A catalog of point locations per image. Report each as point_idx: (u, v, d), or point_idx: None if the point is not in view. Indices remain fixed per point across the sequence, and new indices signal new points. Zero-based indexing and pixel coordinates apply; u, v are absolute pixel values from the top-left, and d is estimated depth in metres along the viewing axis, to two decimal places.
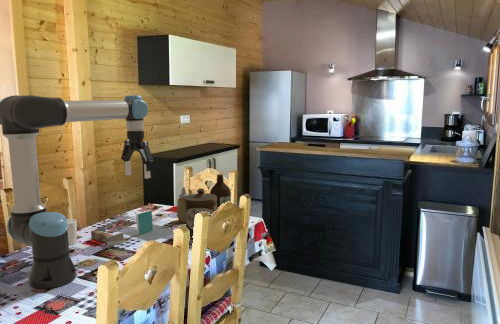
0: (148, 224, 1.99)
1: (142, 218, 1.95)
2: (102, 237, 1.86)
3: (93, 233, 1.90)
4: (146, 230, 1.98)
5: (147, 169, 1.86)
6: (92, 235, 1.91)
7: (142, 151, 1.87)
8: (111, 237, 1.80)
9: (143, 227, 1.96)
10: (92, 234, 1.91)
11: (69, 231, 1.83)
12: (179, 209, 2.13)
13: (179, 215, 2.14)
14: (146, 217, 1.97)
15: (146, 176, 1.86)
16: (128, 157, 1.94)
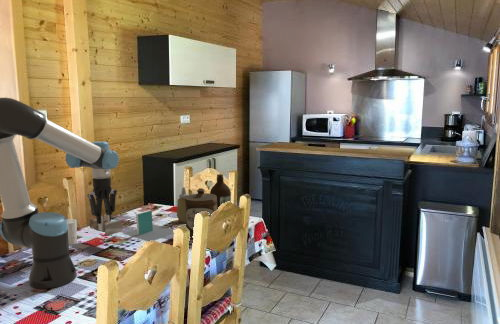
0: (148, 224, 1.99)
1: (142, 218, 1.95)
2: None
3: (91, 221, 1.89)
4: (146, 230, 1.98)
5: None
6: (90, 223, 1.89)
7: (97, 202, 1.82)
8: (109, 224, 1.79)
9: (143, 227, 1.96)
10: (90, 222, 1.89)
11: (69, 231, 1.83)
12: (179, 209, 2.13)
13: (179, 215, 2.14)
14: (146, 217, 1.97)
15: (99, 228, 1.84)
16: (106, 208, 1.86)
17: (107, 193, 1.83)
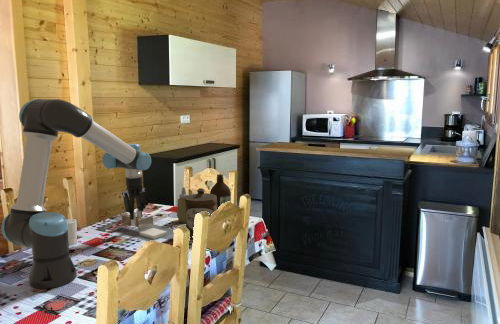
0: None
1: None
2: None
3: (124, 216, 2.04)
4: None
5: None
6: (123, 219, 2.05)
7: (130, 199, 1.98)
8: (142, 220, 1.95)
9: None
10: (123, 218, 2.05)
11: (69, 231, 1.83)
12: (179, 209, 2.13)
13: (179, 215, 2.14)
14: None
15: (132, 223, 2.00)
16: (138, 205, 2.01)
17: (139, 191, 1.99)
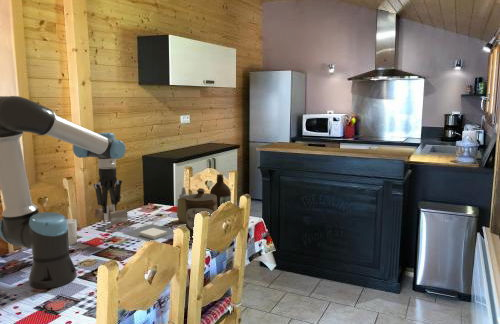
0: None
1: None
2: None
3: (97, 210, 1.92)
4: None
5: None
6: (96, 213, 1.93)
7: (103, 191, 1.86)
8: (115, 213, 1.83)
9: None
10: (96, 212, 1.93)
11: (69, 231, 1.83)
12: (179, 209, 2.13)
13: (179, 215, 2.14)
14: None
15: (104, 217, 1.88)
16: (111, 198, 1.89)
17: (113, 183, 1.87)
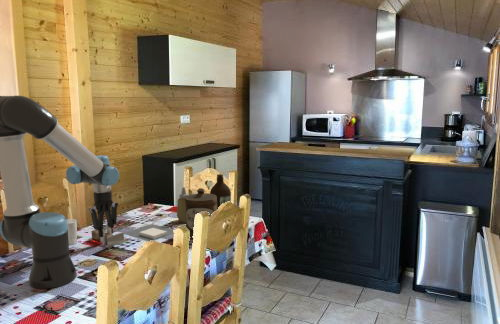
0: None
1: None
2: None
3: (93, 233, 1.90)
4: None
5: None
6: (92, 235, 1.91)
7: (99, 215, 1.83)
8: (111, 237, 1.80)
9: None
10: (92, 234, 1.91)
11: (69, 231, 1.83)
12: (179, 209, 2.13)
13: (179, 215, 2.14)
14: None
15: (101, 241, 1.86)
16: (108, 221, 1.87)
17: (108, 206, 1.84)
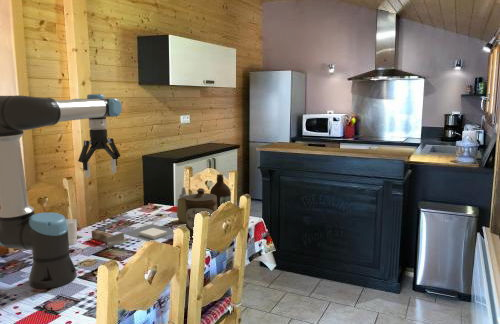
0: None
1: None
2: (103, 236, 1.86)
3: (93, 233, 1.90)
4: None
5: None
6: (93, 235, 1.91)
7: (90, 150, 1.88)
8: (111, 237, 1.80)
9: None
10: (93, 234, 1.91)
11: (69, 231, 1.83)
12: (179, 209, 2.13)
13: (179, 215, 2.14)
14: None
15: (85, 175, 1.88)
16: (111, 155, 1.96)
17: (104, 144, 1.91)
